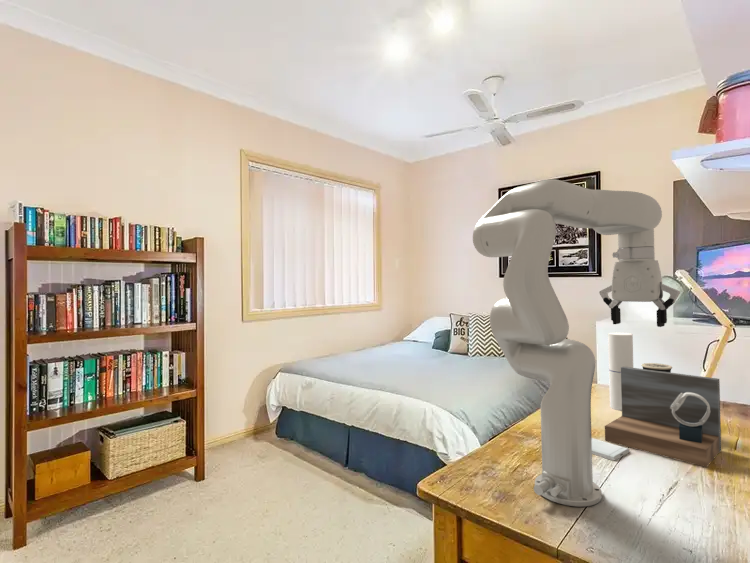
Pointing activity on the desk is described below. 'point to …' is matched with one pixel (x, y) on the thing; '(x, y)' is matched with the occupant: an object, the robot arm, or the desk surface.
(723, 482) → the desk surface
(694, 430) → the watch
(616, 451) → the hard drive
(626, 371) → the display stand
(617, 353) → the cylindrical container
